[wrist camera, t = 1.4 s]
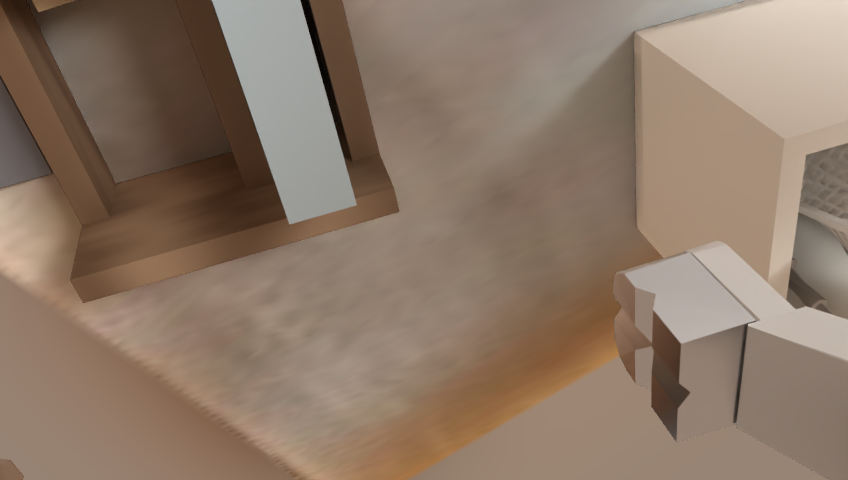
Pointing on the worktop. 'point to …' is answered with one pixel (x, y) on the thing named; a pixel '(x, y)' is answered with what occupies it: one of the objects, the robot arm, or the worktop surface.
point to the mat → (17, 145)
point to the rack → (193, 183)
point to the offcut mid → (48, 4)
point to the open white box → (743, 135)
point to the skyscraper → (823, 209)
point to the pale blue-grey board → (287, 104)
